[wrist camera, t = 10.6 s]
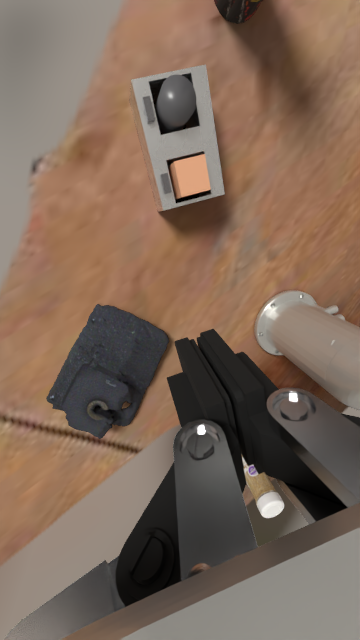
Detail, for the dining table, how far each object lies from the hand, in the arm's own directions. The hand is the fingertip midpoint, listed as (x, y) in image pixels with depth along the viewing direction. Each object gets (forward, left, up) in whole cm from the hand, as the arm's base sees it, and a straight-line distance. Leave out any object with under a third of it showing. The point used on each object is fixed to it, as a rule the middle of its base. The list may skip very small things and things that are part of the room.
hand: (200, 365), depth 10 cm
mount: (-8, -12, -29) cm, 32 cm away
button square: (-8, -8, -28) cm, 30 cm away
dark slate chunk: (+10, +16, -30) cm, 35 cm away
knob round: (-8, -16, -28) cm, 33 cm away
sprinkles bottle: (-9, +46, -29) cm, 55 cm away
